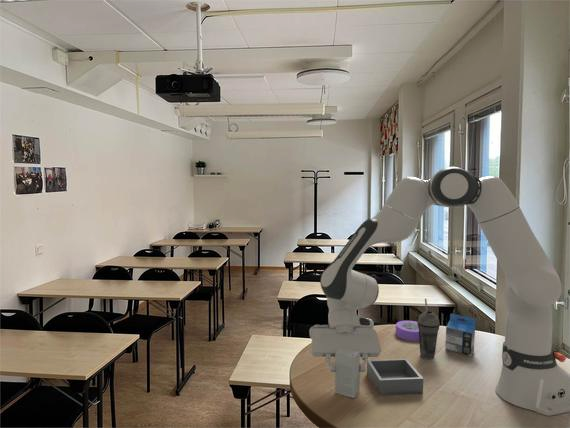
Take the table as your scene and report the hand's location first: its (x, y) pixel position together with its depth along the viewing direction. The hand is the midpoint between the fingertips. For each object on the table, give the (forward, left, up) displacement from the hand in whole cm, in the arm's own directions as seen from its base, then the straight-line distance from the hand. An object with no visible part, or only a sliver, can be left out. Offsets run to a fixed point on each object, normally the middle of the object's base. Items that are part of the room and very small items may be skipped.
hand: (347, 371), depth 114 cm
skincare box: (0, -1, -7) cm, 7 cm away
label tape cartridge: (-46, -25, -7) cm, 53 cm away
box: (-15, -5, -7) cm, 17 cm away
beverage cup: (-33, -22, -7) cm, 40 cm away
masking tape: (-35, -41, -7) cm, 54 cm away
